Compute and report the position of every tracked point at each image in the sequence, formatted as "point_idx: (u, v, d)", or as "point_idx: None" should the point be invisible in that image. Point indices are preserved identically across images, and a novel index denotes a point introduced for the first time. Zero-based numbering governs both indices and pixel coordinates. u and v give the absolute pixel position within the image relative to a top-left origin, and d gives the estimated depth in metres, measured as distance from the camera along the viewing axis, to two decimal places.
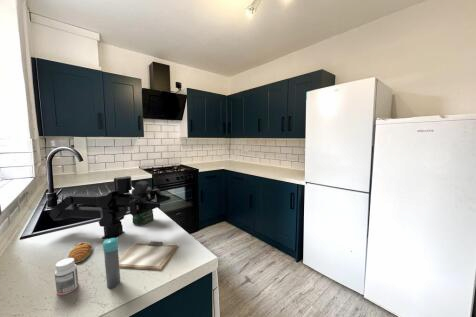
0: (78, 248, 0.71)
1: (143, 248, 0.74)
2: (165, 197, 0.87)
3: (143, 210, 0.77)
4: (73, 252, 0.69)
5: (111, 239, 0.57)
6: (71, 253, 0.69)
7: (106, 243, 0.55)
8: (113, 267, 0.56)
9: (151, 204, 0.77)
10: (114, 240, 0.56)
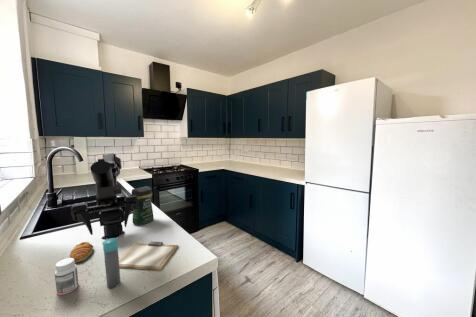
0: (79, 248, 0.71)
1: (143, 248, 0.74)
2: (124, 220, 0.66)
3: (84, 220, 0.63)
4: (74, 252, 0.70)
5: (111, 239, 0.57)
6: (72, 253, 0.70)
7: (106, 243, 0.55)
8: (113, 267, 0.56)
9: (87, 225, 0.61)
10: (114, 240, 0.56)
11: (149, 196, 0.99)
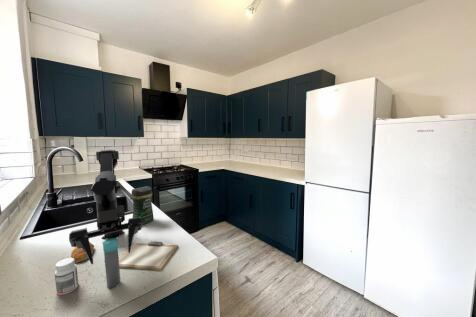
0: None
1: (143, 248, 0.74)
2: (128, 245, 0.61)
3: (83, 247, 0.57)
4: (76, 251, 0.70)
5: (111, 239, 0.57)
6: (74, 252, 0.70)
7: (106, 243, 0.55)
8: (113, 267, 0.56)
9: None
10: (114, 240, 0.56)
11: (149, 196, 0.99)
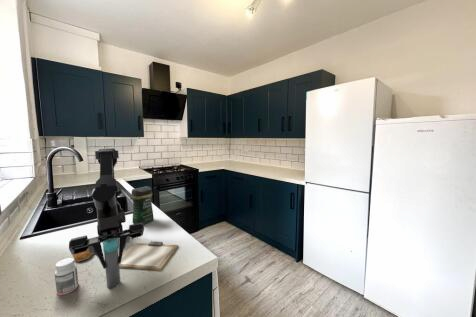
0: None
1: (143, 248, 0.74)
2: None
3: (95, 251, 0.58)
4: None
5: (111, 239, 0.57)
6: None
7: (106, 243, 0.55)
8: (113, 267, 0.56)
9: (99, 258, 0.55)
10: (114, 240, 0.56)
11: (149, 196, 0.99)
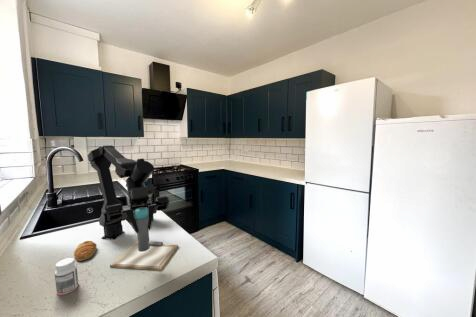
0: (84, 246, 0.72)
1: None
2: (148, 222, 0.64)
3: (127, 219, 0.64)
4: (79, 250, 0.71)
5: (142, 208, 0.63)
6: (77, 251, 0.70)
7: (138, 210, 0.61)
8: (144, 232, 0.62)
9: (132, 224, 0.61)
10: (145, 208, 0.63)
11: (149, 196, 0.99)
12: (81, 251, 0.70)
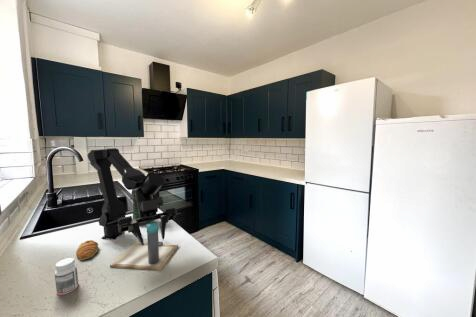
0: (86, 245, 0.73)
1: (143, 248, 0.74)
2: (161, 232, 0.67)
3: (133, 231, 0.66)
4: (81, 249, 0.71)
5: (153, 222, 0.66)
6: (79, 250, 0.71)
7: (149, 225, 0.64)
8: (154, 246, 0.65)
9: (138, 236, 0.63)
10: (155, 223, 0.65)
11: None
12: (83, 250, 0.71)
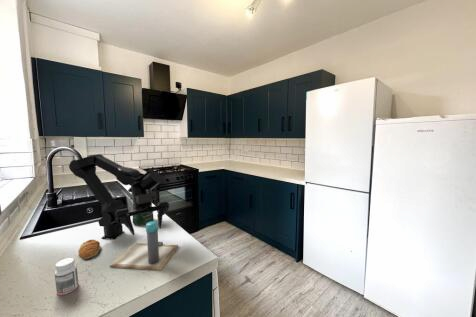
0: (88, 245, 0.73)
1: (143, 248, 0.74)
2: (159, 222, 0.76)
3: (125, 223, 0.73)
4: (84, 248, 0.72)
5: (152, 222, 0.66)
6: (82, 250, 0.71)
7: (149, 224, 0.64)
8: (154, 246, 0.65)
9: (129, 227, 0.70)
10: (155, 222, 0.66)
11: None
12: (86, 249, 0.71)
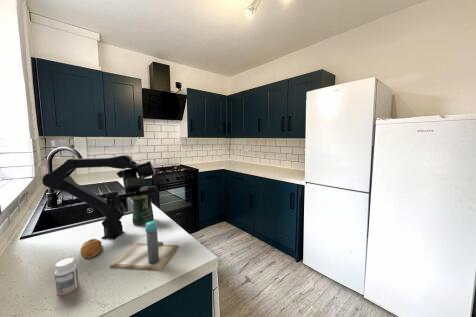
0: (90, 244, 0.74)
1: (143, 248, 0.74)
2: (147, 205, 0.81)
3: (115, 205, 0.78)
4: (86, 248, 0.72)
5: (151, 222, 0.66)
6: (84, 249, 0.72)
7: (148, 224, 0.64)
8: (154, 245, 0.65)
9: (119, 208, 0.75)
10: (154, 222, 0.66)
11: None
12: (88, 249, 0.72)
